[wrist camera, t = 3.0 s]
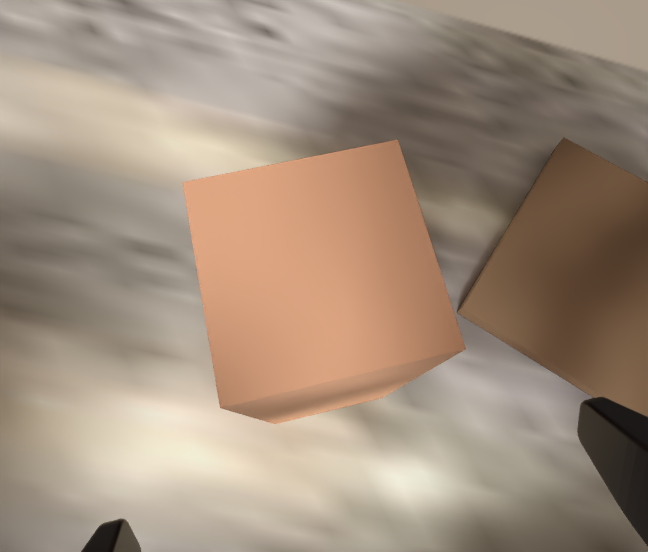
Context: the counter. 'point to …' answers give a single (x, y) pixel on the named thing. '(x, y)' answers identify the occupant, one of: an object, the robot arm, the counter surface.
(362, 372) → the terracotta block
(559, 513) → the counter surface
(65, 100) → the counter surface
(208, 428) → the counter surface
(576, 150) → the walnut board
